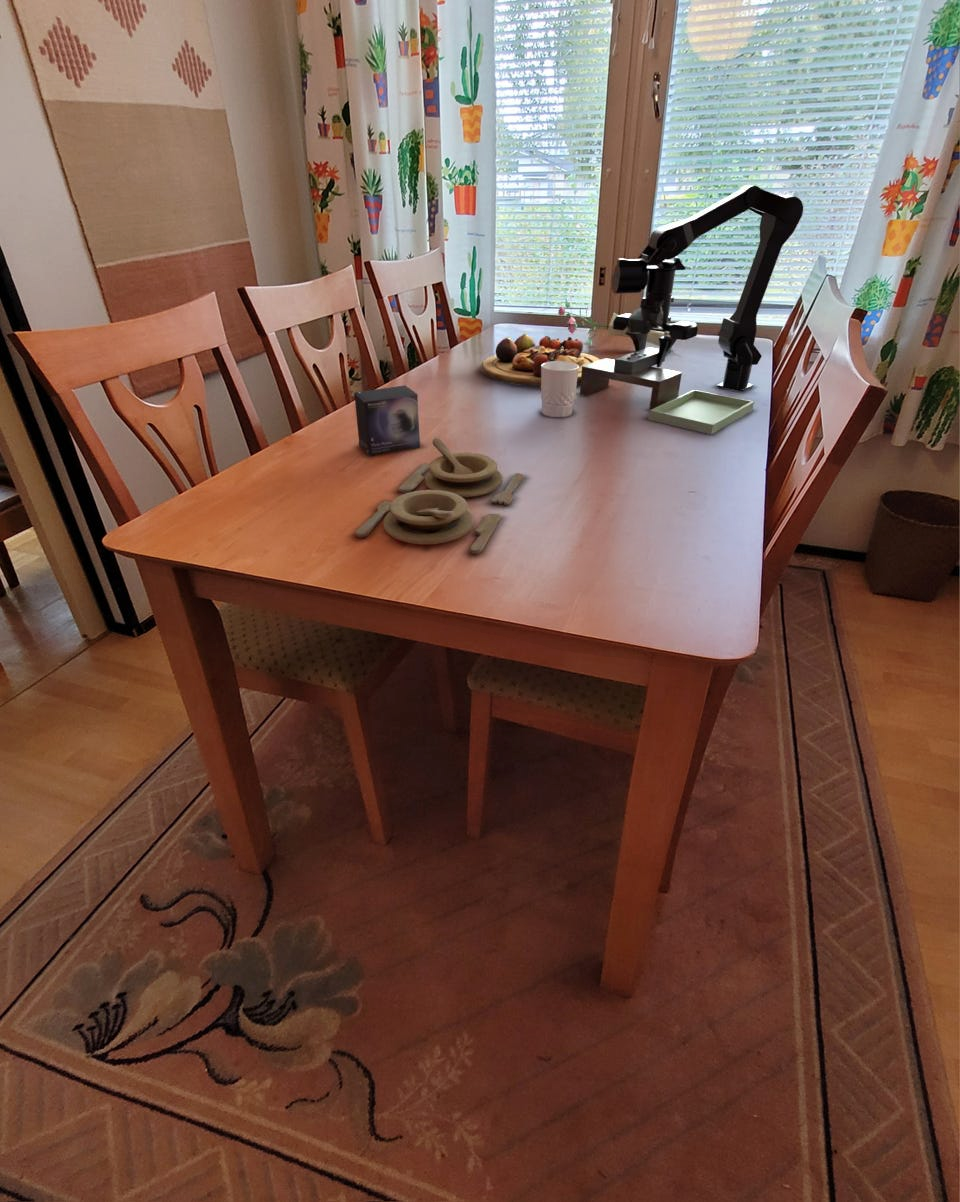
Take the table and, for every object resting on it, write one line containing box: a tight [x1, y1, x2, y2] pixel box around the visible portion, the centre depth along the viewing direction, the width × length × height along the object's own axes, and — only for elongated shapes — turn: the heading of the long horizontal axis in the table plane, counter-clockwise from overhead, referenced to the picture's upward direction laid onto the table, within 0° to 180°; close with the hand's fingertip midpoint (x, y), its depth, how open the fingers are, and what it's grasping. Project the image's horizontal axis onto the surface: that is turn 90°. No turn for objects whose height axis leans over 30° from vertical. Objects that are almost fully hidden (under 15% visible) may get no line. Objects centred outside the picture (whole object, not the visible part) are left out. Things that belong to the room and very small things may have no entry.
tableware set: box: [354, 437, 525, 555], centre depth 102 cm, size 30×20×6 cm, turn 164°
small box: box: [353, 385, 421, 457], centre depth 122 cm, size 11×6×10 cm, turn 117°
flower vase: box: [557, 299, 673, 352], centre depth 191 cm, size 12×12×35 cm
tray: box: [648, 389, 755, 435], centre depth 139 cm, size 20×14×2 cm
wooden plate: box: [481, 333, 601, 387], centre depth 168 cm, size 32×32×8 cm
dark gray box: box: [614, 346, 666, 374], centre depth 148 cm, size 15×5×3 cm, turn 138°
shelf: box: [579, 357, 683, 412], centre depth 149 cm, size 10×20×6 cm, turn 48°
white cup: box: [540, 361, 579, 418], centre depth 139 cm, size 8×8×10 cm
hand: (649, 365), depth 152 cm, fingers closed on dark gray box, 4 cm apart
